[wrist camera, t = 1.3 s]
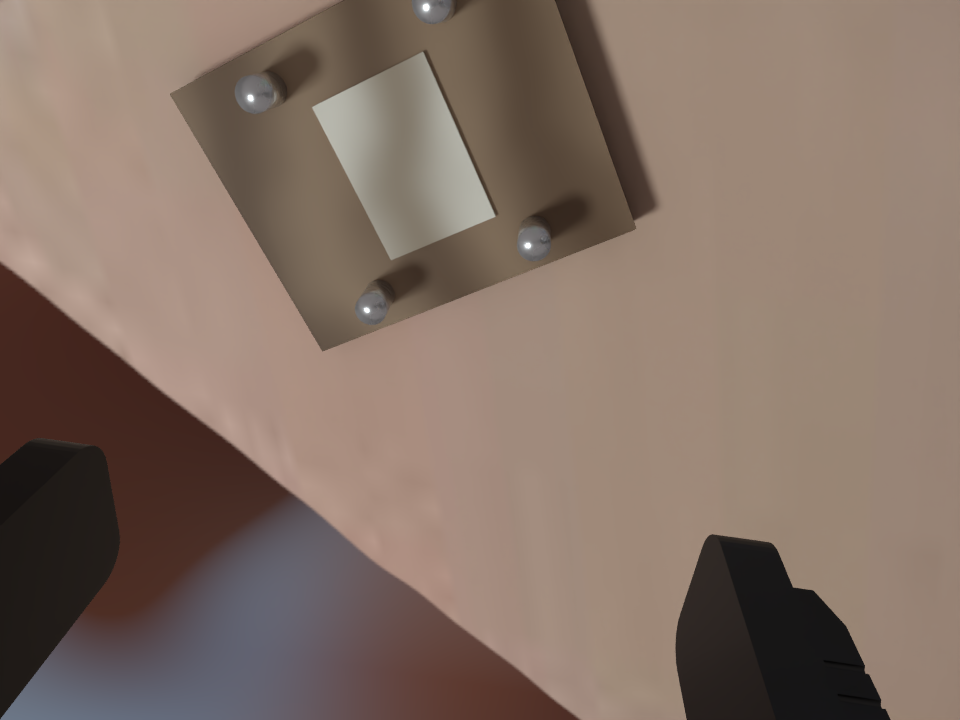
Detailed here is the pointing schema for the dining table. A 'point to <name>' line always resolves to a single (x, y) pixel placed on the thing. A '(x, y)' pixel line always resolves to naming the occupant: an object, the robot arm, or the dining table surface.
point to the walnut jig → (408, 154)
